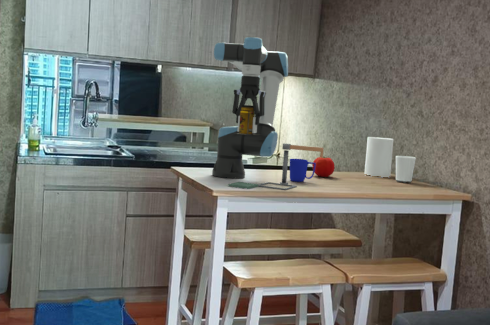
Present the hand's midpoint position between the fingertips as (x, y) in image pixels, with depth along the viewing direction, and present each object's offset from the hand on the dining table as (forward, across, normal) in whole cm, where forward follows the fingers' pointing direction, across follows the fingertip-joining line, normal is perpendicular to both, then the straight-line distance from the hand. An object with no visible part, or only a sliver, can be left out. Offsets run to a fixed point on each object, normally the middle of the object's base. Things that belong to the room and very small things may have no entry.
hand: (246, 132), depth 276 cm
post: (+23, +10, +21) cm, 32 cm away
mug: (+23, +12, +38) cm, 46 cm away
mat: (+23, 0, 0) cm, 23 cm away
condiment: (+1, 0, 0) cm, 1 cm away
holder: (+23, +10, +12) cm, 28 cm away
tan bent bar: (+9, +17, +22) cm, 30 cm away
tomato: (+23, +13, +67) cm, 72 cm away
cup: (+23, +50, +83) cm, 100 cm away
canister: (+23, +33, +99) cm, 107 cm away
